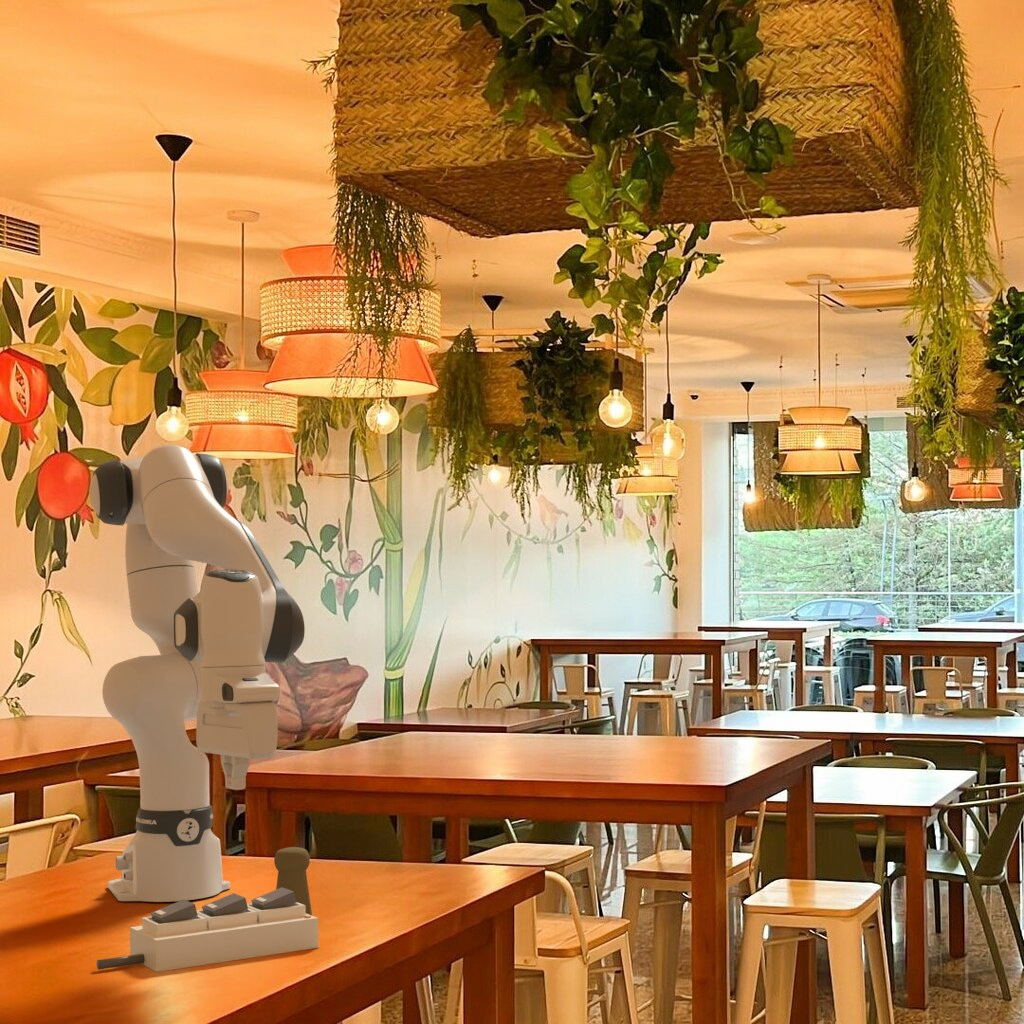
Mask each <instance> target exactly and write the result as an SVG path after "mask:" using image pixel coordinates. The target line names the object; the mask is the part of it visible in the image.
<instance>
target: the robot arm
mask: <svg viewBox="0 0 1024 1024" xmlns="http://www.w3.org/2000/svg"><path fill="white" fill-rule="evenodd" d="M229 485H230V484H229V479H228V475H227V472H226V470H225V468H224V464H223V462H222V461H221V460H220V458H218V457H217V456H215V455H213V454H207V453H198V452H197V453H195V454H193V452H191V450H189V449H187V448H185V447H184V446H181V445H178V444H163V445H159V446H156V447H155V448H152V449H151V450H149V451H148V452H147V453H146V454H145V456H142V457H135V458H129V459H124V460H120V461H119V459H115V460H110V461H107V462H104V463H103V462H102V463H101V464H99V465H98V466H97V468H95V470H94V471H93V473H92V478H91V481H90V484H89V500H90V504H91V506H92V509H93V510H94V512H95V514H96V517H97V518H98V519H99V520H100V521H101V522H102V523H104V524H105V525H111V526H112V525H113V526H124V524H126V532H125V543H124V544H125V547H124V549H125V553H124V554H125V555H124V557H125V569H126V571H125V572H126V580H127V588H128V599H129V605H130V614H131V615H130V616H131V620H132V621H133V623H134V625H135V626H136V627H137V628H138V629H139V630H141V631H142V632H143V633H145V634H146V635H148V636H149V637H150V638H151V640H153V642H154V644H155V645H156V647H157V649H158V651H159V655H157V654H155V655H140V656H137V657H132V658H129V659H126V660H123V661H121V662H117V663H116V664H113V666H111V667H110V669H109V670H108V672H106V674H105V677H104V680H103V684H102V689H101V690H102V691H101V692H102V693H101V694H102V699H103V703H104V706H105V708H106V710H107V712H108V713H109V714H110V716H111V717H112V718H113V719H115V720H116V721H117V722H118V723H120V724H121V726H122V727H123V728H124V729H125V730H126V732H127V733H128V736H129V737H130V739H131V741H132V744H133V746H134V749H135V752H136V755H137V756H136V757H137V761H138V762H137V763H138V767H139V768H138V769H139V771H138V773H139V790H140V793H139V795H140V796H139V797H140V801H139V802H140V803H139V804H140V807H139V808H138V809H137V815H136V817H135V821H136V823H135V830H136V831H135V834H134V836H132V839H131V840H130V841H129V843H128V845H126V847H125V849H124V850H123V852H122V855H117V856H116V857H115V863H114V864H115V870H116V871H121V878H116V879H112V880H109V881H108V882H107V888H108V890H110V893H112V895H113V896H114V897H115V898H116V900H117V901H119V902H149V903H150V902H151V903H152V902H153V903H163V902H164V903H165V902H167V903H168V902H179V901H181V900H186V901H192V900H193V901H194V900H198V899H204V898H205V899H206V898H209V897H210V898H211V897H213V896H216V895H219V894H220V893H221V892H222V891H225V890H228V889H230V888H231V881H228V880H224V878H223V863H222V849H221V839H220V838H219V837H218V836H216V835H215V834H214V832H213V831H212V829H211V828H212V827H213V818H214V813H213V806H212V805H211V804H210V761H209V759H208V758H209V757H208V756H207V754H213V755H220V765H221V768H222V771H223V774H224V783H225V786H224V787H225V788H226V789H227V790H228V789H230V790H233V791H240V790H244V789H246V787H247V783H246V781H247V779H246V778H247V777H246V776H247V773H248V770H249V767H250V760H261V759H263V760H264V759H271V758H273V757H274V756H275V754H276V751H277V747H278V730H279V729H278V721H279V720H278V708H277V705H276V703H275V702H276V701H279V700H280V694H281V693H280V686H279V684H278V683H276V682H275V681H274V680H273V679H272V678H271V677H270V675H269V674H268V673H266V671H267V670H266V669H267V668H266V663H276V664H277V663H278V664H283V663H285V662H286V661H287V660H288V659H290V658H291V657H293V655H295V653H296V652H297V651H298V650H299V649H300V647H301V646H302V644H303V643H304V638H305V632H306V631H305V629H306V628H305V621H304V620H305V619H304V615H303V612H302V610H301V608H300V606H299V605H298V603H297V602H296V601H295V599H294V598H293V597H292V596H291V595H290V594H289V592H288V591H287V590H286V589H285V587H284V586H283V584H282V583H281V580H280V579H279V577H278V576H277V574H276V572H275V570H274V569H273V567H272V566H271V564H270V562H269V560H268V558H267V556H266V555H265V553H264V551H263V550H262V548H261V546H260V544H259V543H258V541H257V540H256V538H255V536H254V535H253V533H252V532H251V530H250V529H249V527H248V526H247V525H246V524H244V523H242V522H241V521H239V520H238V519H236V518H235V517H234V516H233V515H231V514H229V512H227V511H226V510H225V508H224V507H225V506H226V504H227V499H228V498H227V497H228V494H229ZM195 562H198V563H203V564H207V565H211V566H215V567H218V568H221V569H216V570H212V571H211V570H210V571H209V572H207V573H204V575H203V577H202V580H201V581H202V582H201V588H200V591H199V592H198V586H197V579H196V571H195ZM193 720H194V721H195V720H196V733H195V734H196V735H195V736H196V739H195V740H196V743H195V744H196V746H195V745H193V744H192V742H191V741H190V738H189V736H188V734H187V730H186V726H185V721H193Z"/></svg>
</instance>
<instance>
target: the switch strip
mask: <svg viewBox="0 0 1024 1024" xmlns="http://www.w3.org/2000/svg"><path fill="white" fill-rule="evenodd" d="M247 906H248V909H247V910H244V911H242V912H240V913H237V914H230V915H223V916H215V917H211V916H208V915H206V914H204V913H203V909H200V910H199V909H198V910H197V909H196V911H197V914H198V916H195V917H193V918H191V919H188V920H185V921H177V922H170V923H162V924H159V923H157V922H155V921H153V920H152V916H151V915H150V916H146V917H145V916H144V917H141V925H137V926H130V927H129V932H130V933H129V936H130V937H129V939H130V940H129V945H130V946H129V951H130V952H129V955H124V956H117V957H109V958H103V959H102V958H101V959H97V960H96V969H97V970H104V969H106V970H107V969H111V968H113V969H114V968H119V967H125V966H126V967H127V966H132V965H139V964H141V965H143V966H145V967H147V968H148V969H150V970H152V971H154V972H157V973H158V972H165V971H171V970H178V969H185V968H192V967H197V966H198V967H199V966H204V965H205V966H206V965H211V964H212V965H213V964H217V963H218V964H219V963H225V962H231V961H239V960H244V959H252V958H259V957H265V956H273V955H278V954H284V953H285V954H286V953H291V952H297V951H303V950H304V951H305V950H311V949H319V917H316V916H314V915H312V916H311V915H309V914H306V906H305V905H303V904H301V903H298V902H297V903H295V904H292V905H290V906H288V907H283V908H275V909H268V910H260V909H257V908H254V907H253V905H252V903H247Z"/></svg>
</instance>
